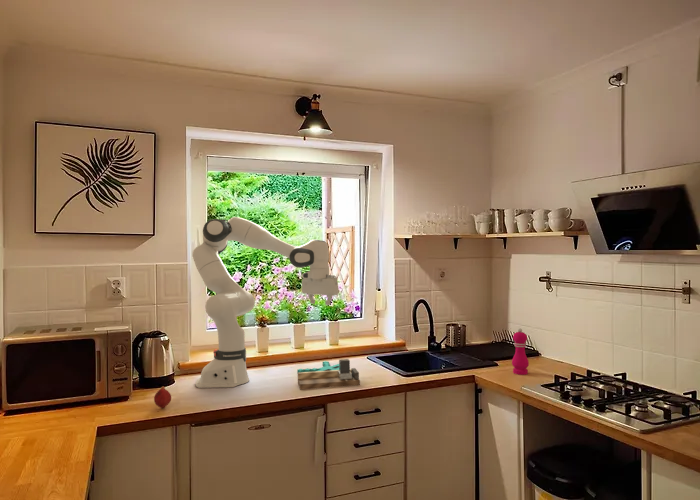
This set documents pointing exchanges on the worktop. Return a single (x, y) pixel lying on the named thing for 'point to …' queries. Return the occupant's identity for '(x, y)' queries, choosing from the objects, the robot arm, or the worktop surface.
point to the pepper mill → (520, 354)
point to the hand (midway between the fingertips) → (320, 304)
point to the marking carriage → (344, 369)
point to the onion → (162, 398)
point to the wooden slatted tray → (326, 379)
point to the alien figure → (325, 368)
